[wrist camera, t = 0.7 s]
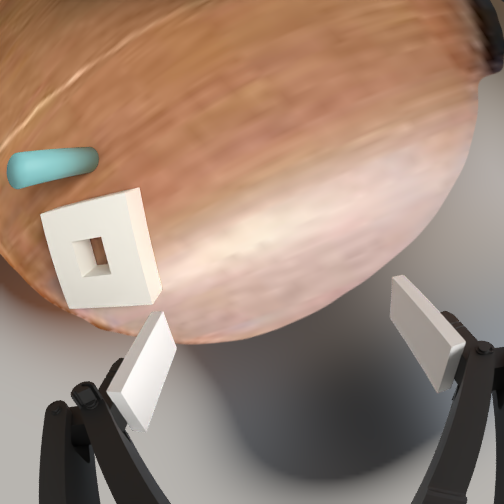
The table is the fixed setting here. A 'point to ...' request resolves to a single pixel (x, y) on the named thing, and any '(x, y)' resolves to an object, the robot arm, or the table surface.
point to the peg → (49, 165)
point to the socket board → (116, 248)
